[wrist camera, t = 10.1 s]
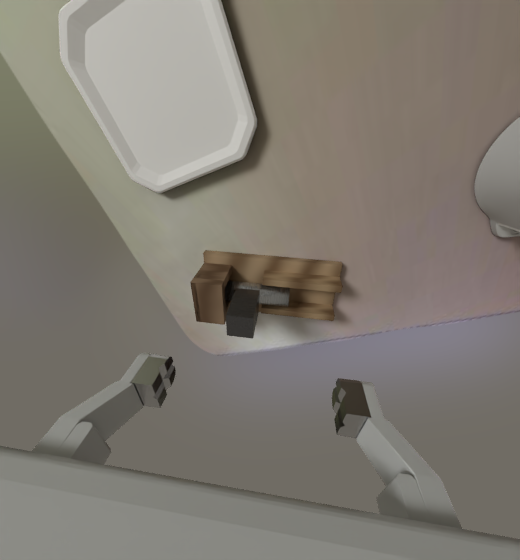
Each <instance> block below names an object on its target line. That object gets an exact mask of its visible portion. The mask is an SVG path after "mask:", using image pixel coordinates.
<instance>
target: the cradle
mask: <svg viewBox="0 0 520 560" xmlns="http://www.w3.org/2000/svg"><path fill="white" fill-rule="evenodd" d="M203 254H204V264H203V265H202V267H201V268H200V270H199V271H198V273H197V274H196V275H195V277H194V278H193V280H192V281H191V282H190V283H191V289H192V295H193V301H194V308H195V314H196V320H197V321H198V322H207V323H215V324H225V322H226V314H227V311H228V308H229V306H230V303H231V301H228V300H225V287H226V285H227V282H228V281H239V282H249V283H259V284H262V285H267V286H277V287H287V288H290V293H289V303H288V307H285V306H276V305H266V304H259V312H261V313H266V314H275V315H284V316H293V317H302V318H312V319H321V320H330V321H333V320H334V316H335V315H334V311H333V306H332V304H333V300H334V296H335V293H336V292H338V293H341V291H342V287H343V286H342V283H341V280H340V273H341V270H342V266H343V265H342V262H335V261H324V260H312V259H300V258H289V257H277V256H265V255H254V254H242V253H230V252H219V251H207V250H205V252H204V253H203Z"/></svg>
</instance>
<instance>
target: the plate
mask: <svg viewBox="0 0 520 560" xmlns="http://www.w3.org/2000/svg"><path fill="white" fill-rule="evenodd" d="M59 38H60V57H61V60H62V63H63V65H64V67H65V68H66V70H67V72H68V73H69V75H70V77H71V79H72V80H73V82H74V84H75V85H76V87H77V89H78V90H79V92H80V94H81V95H82V97H83V99H84V100H85V102H86V104H87V106H88V107H89V109H90V111H91V112H92V114H93V116H94V117H95V119H96V121H97V122H98V124H99V126H100V128H101V129H102V131H103V133H104V134H105V136H106V138H107V139H108V141H109V143H110V144H111V146H112V148H113V150H114V151H115V153H116V155H117V156H118V158H119V160H120V161H121V163H122V165H123V167H124V168H125V170H126V172H127V173H128V175H129V177H130V178H131V179H132V180H133V181H134V182H136V183H138V184H140V185H142V186H144V187H146V188H148V189H150V190H152V191H154V192H156V193H163V192H165V191H168V190H170V189H172V188H175V187H177V186H180V185H182V184H185V183H187V182H189V181H192V180H194V179H197V178H199V177H201V176H204V175H206V174H209V173H211V172H214V171H216V170H218V169H221V168H223V167H226V166H228V165H230V164H233V163H235V162H238V161H240V160H243V158H244V157H245V156H246V154H247V152H248V149H249V146H250V144H251V141H252V138H253V136H254V133H255V130H256V128H257V117H256V114H255V111H254V107H253V104H252V101H251V97H250V94H249V91H248V87H247V84H246V81H245V78H244V74H243V71H242V68H241V64H240V61H239V58H238V54H237V51H236V48H235V44H234V41H233V38H232V34H231V31H230V28H229V24H228V21H227V18H226V14H225V11H224V8H223V5H222V1H221V0H71V1H69V2H68V3H67V4H66V5H65V6H63V7H62V8H61V9H60V12H59Z"/></svg>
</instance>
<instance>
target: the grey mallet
mask: <svg viewBox="0 0 520 560" xmlns="http://www.w3.org/2000/svg"><path fill="white" fill-rule="evenodd" d="M289 293H290V288H287V287H277V286H267V285H262V284H259V283H249V282H239V281H228V282H227V285H226V287H225V300H228V301H231V303H230V306H229V308H228V311H227V314H226V325H227V335H229V336H237V337H246V338H253V336H254V331H255V326H256V321H257V317H258V312H259V304H266V305H276V306H285V307H288V303H289Z"/></svg>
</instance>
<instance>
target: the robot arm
mask: <svg viewBox="0 0 520 560" xmlns="http://www.w3.org/2000/svg"><path fill="white" fill-rule="evenodd" d="M475 197H476V200H477V203H478V205H479V207H480V208H481V209H482V211H483V212H484V213H485V214H486V215H487V216H488V217H489V219H490V225H491V230H492V233H493V234H494V235H496V236H499V237H516V236H520V117H519V118H518V119H517V120H515V121H514V122H513V123H512V124H511V125H510V126H509V127H508V128H507V129H506V130H505V131H504V132H503V133H502V134H501V135H500V136H499V137H498V138H497V139H496V141H495V142H494V143H493V144H492V146H491V147H490V149H489V150H488V152H487V153H486V155H485V157H484V158H483V160H482V162H481V164H480V167H479V169H478V172H477V176H476V180H475ZM172 363H173V359H172V357H169V356H162V355H156V354H149V353H141V354H139V355H138V357H137V358H136V359H135V361H134V362H133V364H132V365H131V366H130V368H129V369H128V371H127V372H126V373H125V375H124V376H123V378H122V379H121V380H120V382H119V381H116V382H115V383H113V384H112V385H110V386H108V387H107V388H105V389H104V390H102V391H100V392H99V393H97V394H96V395H94V396H92V397H91V398H89V399H88V400H86V401H85V402H83V403H81V404H80V405H78V406H77V407H75V408H73V409H72V410H71V411H69V412H67V413H66V414H64V415H62V416H61V417H60V418H59V419H58V420H57V422H56V423H55V424H54V425H53V426H52V428H51V429H50V430H49V431H48V432H47V434H46V435H45V436H44V437H43V438H42V439H41V441H40V442H39V443H38V444H37V445H36V447H35V448H34V449H33V450H32V451H27V450H21V449H15V448H10V447H4V446H0V560H520V539H516V538H510V537H505V536H499V535H494V534H487V533H483V532H477V531H471V530H465V529H462V527H461V525H460V522H459V520H458V518H457V515H456V513H455V511H454V508H453V506H452V504H451V501H450V499H449V497H448V494H447V492H446V490H445V487H444V485H443V483H442V480H441V479H440V477H439V476H438V475H437V474H436V473H435V472H434V471H433V470H432V469H431V468H430V466H429V465H428V464H427V463H426V462H425V461H424V460H423V459H422V457H421V456H420V455H419V454H418V453H417V452H416V451H415V450H414V448H413V447H412V446H411V445H410V444H409V443H408V442H407V441H406V440H405V439H404V437H403V436H402V435H401V434H400V433H399V432H398V431H397V429H396V428H394V426H393V425H392V424H391V423H390V422H389V421H388V420H385V418H384V415H383V412H382V409H381V406H380V403H379V400H378V397H377V395H376V391H375V388H374V385H373V384H372V383H370V382H362V381H357V380H348V379H339V378H338V379H337V381H336V387H335V388H334V389H333V393H332V406H333V410H334V411H335V413H336V416H335V426H336V433H337V435H340V436H346V437H351V438H356V440H357V442H358V443H359V445H360V447H361V448H362V450H363V451H364V453H365V454H366V456H367V457H368V459H369V461H370V462H371V464H372V465H373V467H374V468H375V470H376V472H377V473H378V475H379V476H380V478H381V479H382V481H383V482H384V484H385V486H386V488H385V489H384V490H383V491H382V492H381V493H380V494H379V495H378V497H377V503H378V508H379V512H380V514H377V513H371V512H366V511H360V510H354V509H349V508H344V507H338V506H332V505H327V504H321V503H316V502H310V501H304V500H299V499H294V498H288V497H282V496H277V495H271V494H266V493H260V492H255V491H249V490H244V489H238V488H232V487H227V486H221V485H216V484H210V483H204V482H198V481H193V480H188V479H182V478H176V477H171V476H166V475H160V474H155V473H149V472H143V471H138V470H132V469H127V468H121V467H115V466H110V465H104V464H105V462H106V460H107V458H108V457H109V455H110V453H111V449H110V447H109V446H108V444H107V443H106V442H105V441H106V440H107V439H108V438H109V437H110V436H111V435H112V434H114V433H115V432H116V431H117V430H118V429H119V428H120V427H121V426H122V425H124V424H125V423H126V422H127V421H128V420H129V419H130V418H131V417H133V416H134V415H135V414H136V413H137V412H138V411H139V410H140V409H142V408H143V406H149V407H157V408H160V407H161V406H162V403H163V401H164V400H165V398H166V395H167V393H166V390H167V389H168V388H169V387H171V385H172V383H173V381H174V378H175V371H176V370H175V367H174V366H173V365H172Z"/></svg>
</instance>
